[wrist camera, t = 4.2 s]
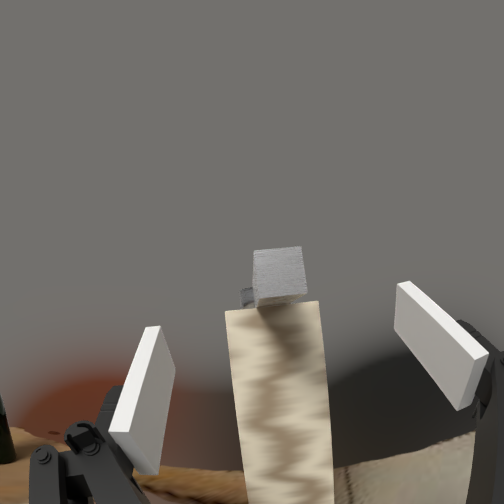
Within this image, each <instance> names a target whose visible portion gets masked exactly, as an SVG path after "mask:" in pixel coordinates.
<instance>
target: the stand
mask: <svg viewBox="0 0 504 504" xmlns="http://www.w3.org/2000/svg"><path fill="white" fill-rule="evenodd" d="M225 318H226V328H227V337H228V346H229V355H230V364H231V373H232V382H233V390H234V398H235V406H236V414H237V422H238V430H239V438H240V445H241V451H242V459H243V467H244V474H245V480H246V487H247V494H248V500H249V504H334V482H333V460H332V442H331V426H330V413H329V400H328V388H327V377H326V366H325V357H324V347H323V338H322V329H321V320H320V313H319V304H318V301H312V302H304V303H296V304H288V305H279V306H271V307H262V308H253V309H243V310H233V311H225Z"/></svg>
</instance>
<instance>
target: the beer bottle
mask: <svg viewBox="0 0 504 504" xmlns="http://www.w3.org/2000/svg"><path fill="white" fill-rule="evenodd" d="M15 459H16V451H15V447H14V444H13V440H12V436H11V432H10V429H9V425H8V420H7V416H6V412H5V407H4V403H3V399H2V396H1V393H0V464H4V463H9V462H12V461H13V460H15Z"/></svg>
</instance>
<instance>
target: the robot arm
mask: <svg viewBox="0 0 504 504" xmlns="http://www.w3.org/2000/svg"><path fill="white" fill-rule="evenodd" d="M394 330H395V331H396V332H397V334H398V335H399V336H400V337H401V339H402V340H403V341H404V342H405V344H406V345H407V346H408V347H409V349H410V350H411V351H412V352H413V354H414V355H415V356H416V357H417V359H418V360H419V361H420V363H421V364H422V365H423V367H424V368H425V369H426V370H427V372H428V373H429V374H430V376H431V377H432V378H433V380H434V381H435V382H436V383H437V385H438V386H439V387H440V389H441V390H442V391H443V393H444V394H445V395H446V397H447V398H448V399H449V401H450V402H451V404H452V405H453V406H454V408H455V409H456V410H457V411H458V410H460V409H462V408H464V407H466V406H469V405H470V404H471V403H472V400H473V398H474V395H476V396H477V397H478V398H479V401H478V403H477V406H476V408H475V410H474V413H473V415H472V418H474V417H475V415H476V413H477V418H476V434H475V445H474V455H473V463H472V471H471V477H470V484H469V489H468V495H467V500H466V504H504V351H502V352H500V351H499V350H498V349H496V348H495V347H494V346H493V345H492V344H491V343H490V342H489V341H488V340H487V339H486V338H485V337H483V336H482V335H481V334H480V333H479V332H478V331H476V329H475V328H473V327H472V326H471V325H470V324H468V323H467V322H464V321H462V320H458V321H455V320H454V319H452V318H451V317H450V316H449V315H448V314H447V313H446V312H445V311H444V310H442V309H441V308H440V307H439V306H438V305H437V304H436V303H434V302H433V301H432V300H431V299H430V298H429V297H428V296H426V295H425V294H424V293H423V292H422V291H421V290H420V289H419V288H417V287H416V286H415V285H413V283H411V282H410V281H408V282H403V283H399V284H397V294H396V309H395V322H394ZM175 371H176V369H175V366H174V363H173V360H172V358H171V355H170V352H169V349H168V346H167V343H166V340H165V338H164V335H163V332H162V329H161V326H154V327H146V328H145V331H144V334H143V336H142V339H141V341H140V344H139V346H138V349H137V352H136V354H135V357H134V360H133V362H132V365H131V368H130V370H129V373H128V376H127V379H126V381H125V384H124V385H123V386H113V387H112V388H111V390H110V391H109V392H108V393H107V394H106V397H105V399H104V402H103V405H102V407H101V412H99V415H98V417H97V420H96V423H95V425H94V424H93V423H92V422H89V421H79V422H75V423H74V424H72V425H71V426H70V427H69V428H68V429H67V430H66V432H65V435H64V441H65V442H66V444H67V445H68V446H69V447H70V449H71V450H70V451H65V452H58V451H57V450H56V449H55V448H54V447H53V446H51V445H43V446H40V447H38V448H37V449H35V450H34V452H33V453H32V455H31V458H30V473H29V504H94V503H93V498H94V500H95V502H96V504H151V503H150V502H149V500H148V499H147V497H146V496H145V494H144V493H143V491H142V489H141V488H140V486H139V485H138V483H137V481H136V480H135V478H134V477H133V476H132V473H133V468H135V469H136V471H137V472H138V473H139V474H140V475H158V472H159V465H160V458H161V452H162V445H163V439H164V433H165V427H166V421H167V414H168V409H169V403H170V398H171V392H172V387H173V381H174V376H175ZM92 496H93V497H92Z"/></svg>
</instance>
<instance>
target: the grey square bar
mask: <svg viewBox="0 0 504 504" xmlns="http://www.w3.org/2000/svg"><path fill="white" fill-rule="evenodd" d="M306 293H307V285H306V278H305V270H304V263H303V257H302V249H301V246H296V247H287V248H277V249H267V250H258V251H254V262H253V287H251V288H246V289H242V290H240V302H241V310H243V309H253V308H262V307H271V306H279V305H288V304H291V302H293V301H294V300H296V299H298V298H300V297H301V296H303V295H305V294H306Z"/></svg>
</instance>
